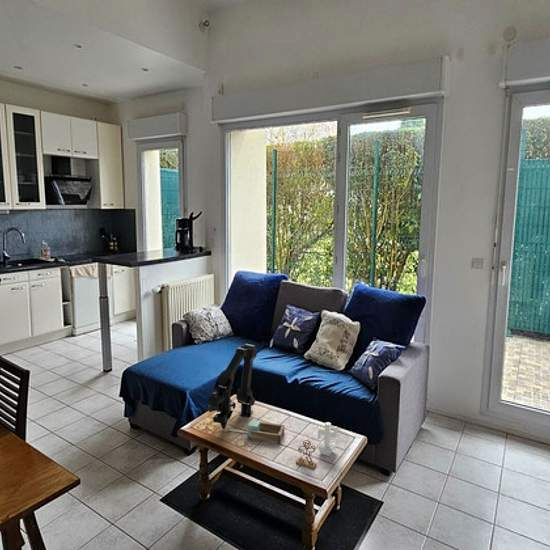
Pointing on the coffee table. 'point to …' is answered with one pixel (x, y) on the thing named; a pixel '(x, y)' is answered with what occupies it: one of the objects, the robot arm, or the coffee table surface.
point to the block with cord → (251, 426)
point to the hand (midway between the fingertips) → (224, 427)
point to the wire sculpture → (306, 462)
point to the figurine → (327, 439)
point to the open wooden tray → (268, 436)
